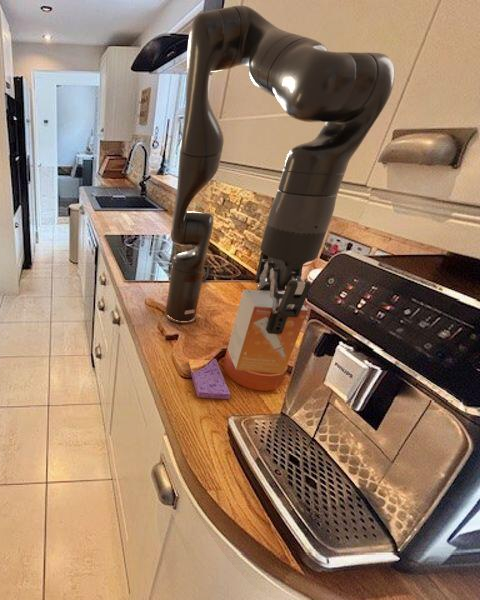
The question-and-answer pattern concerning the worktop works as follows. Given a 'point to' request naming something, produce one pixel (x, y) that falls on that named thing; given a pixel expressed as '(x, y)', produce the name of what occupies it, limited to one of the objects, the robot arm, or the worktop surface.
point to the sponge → (210, 382)
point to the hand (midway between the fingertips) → (266, 321)
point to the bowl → (252, 376)
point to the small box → (262, 335)
